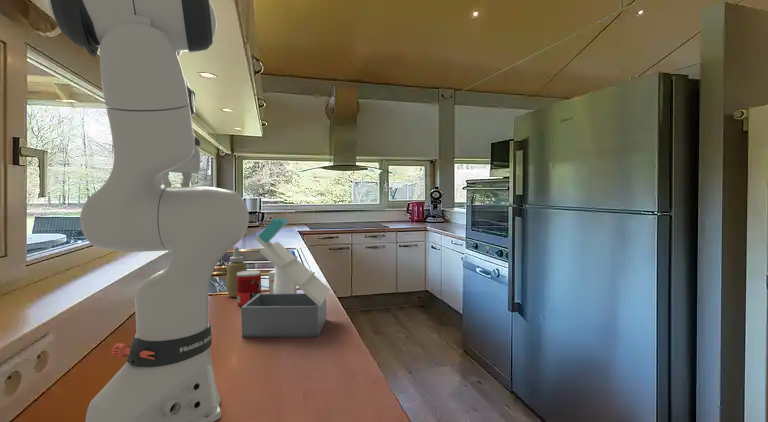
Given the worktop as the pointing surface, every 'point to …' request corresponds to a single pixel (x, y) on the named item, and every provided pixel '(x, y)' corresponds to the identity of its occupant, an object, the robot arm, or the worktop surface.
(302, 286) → the lid
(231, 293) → the squeeze bottle
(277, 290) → the pepper shaker
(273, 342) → the worktop surface
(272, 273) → the small box
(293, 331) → the tub
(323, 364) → the worktop surface
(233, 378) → the worktop surface
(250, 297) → the canned food
